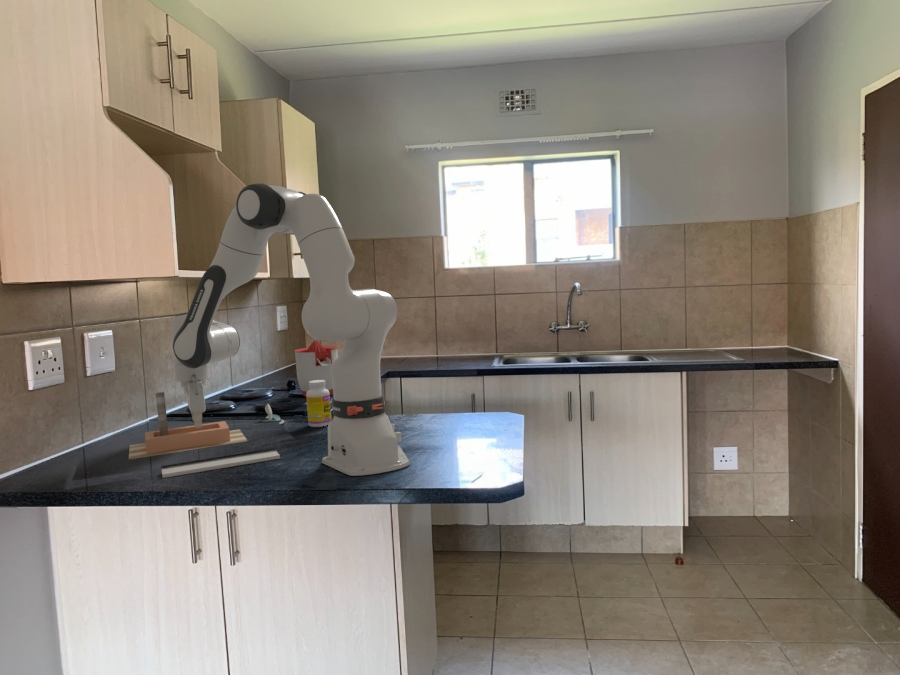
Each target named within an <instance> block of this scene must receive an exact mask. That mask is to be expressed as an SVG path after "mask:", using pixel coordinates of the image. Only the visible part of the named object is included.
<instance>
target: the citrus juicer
mask: <svg viewBox="0 0 900 675" xmlns="http://www.w3.org/2000/svg"><path fill="white" fill-rule="evenodd" d="M338 348H339V347H338V346H335V345H323V344H322V343H320V342H319V341H318V340H317V339H314V340H313V342H311V344H310V345H309V346H308V347H303V348H298V349H295V350H293V352H294V355H295V358H294V359H295V369H296V377H297V382H298V387H299V389H300V391H301V393H302V395H303V397H305V398H306V393H307V391H309V390H310V387H309V381H313V380H325V389H327V390H329V393H330V396H333V383H332V365H333V363H334V361H335V360H336V359H337V358H338V357H339V354H338Z"/></svg>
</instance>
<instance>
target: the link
mask: <svg viewBox="0 0 900 675" xmlns="http://www.w3.org/2000/svg"><path fill="white" fill-rule="evenodd" d="M229 431H230V427H229V425H228V424H227V422H226V421H223V420H222V421H214V422H208V423H202V427H201V428H195V424H194V425H187V426H181V427H180V426H179V427H174V428H173V427H171V428H168V435H165V436H160V430H159V429H158V430H152V431H146V432H145V431H144V441H145V442H144V443H145V444H146V453H147V454H149V453H155V452H162V451H168V450H175V449H182V448H188V447H195V446H202V445H208V444H215V443H221V442H228V441H230V432H229Z"/></svg>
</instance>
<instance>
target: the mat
mask: <svg viewBox="0 0 900 675" xmlns="http://www.w3.org/2000/svg"><path fill="white" fill-rule="evenodd" d="M279 459H281V455H280V454H279V452H278V451H277V450H276V449H275V447H274V448H268V449H262V450H256V451H249V452H242V453H236V454H230V455H223V456H216V457H211V458H205V459H199V460H193V461H186V462H180V463H174V464H167V465H161V468H160V469H161V475H162V479H164V478H165V479H166V478H172V477H176V476H178V477H179V476H182V475H188V474H196V473H201V472H207V471H212V470H218V469H225V468H231V467H236V466H243V465H249V464H255V463H260V462H267V461H273V460H279Z"/></svg>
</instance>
